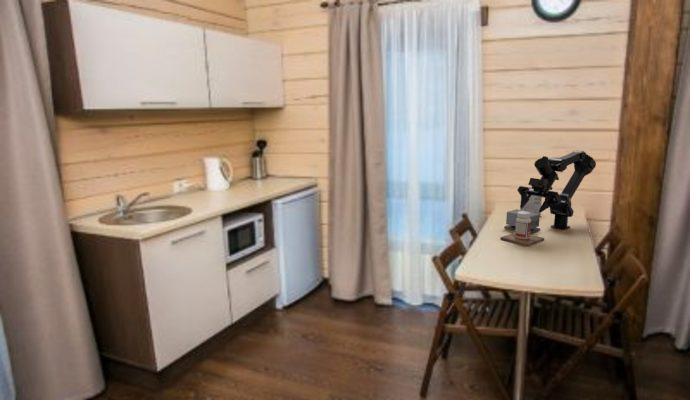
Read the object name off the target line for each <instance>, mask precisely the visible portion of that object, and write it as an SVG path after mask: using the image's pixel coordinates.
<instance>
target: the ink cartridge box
mask: <svg viewBox="0 0 690 400" xmlns="http://www.w3.org/2000/svg"><path fill="white" fill-rule="evenodd" d="M527 187H528V186H527ZM528 188H529V190H530V191H534V189H532V186H531V187H528ZM542 200H543V197H538V196H533V195H531V197H530V198H529V201H528V202H527V203H526V205H525V206H524V207H523V208H522V209H521V208H520V207H519V208H520V209H519V210H523V211H528V212H533V213H538V214H540V217H541V216H542V212H541V213H540V212H539V210H540V207H541V206H542Z"/></svg>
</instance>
